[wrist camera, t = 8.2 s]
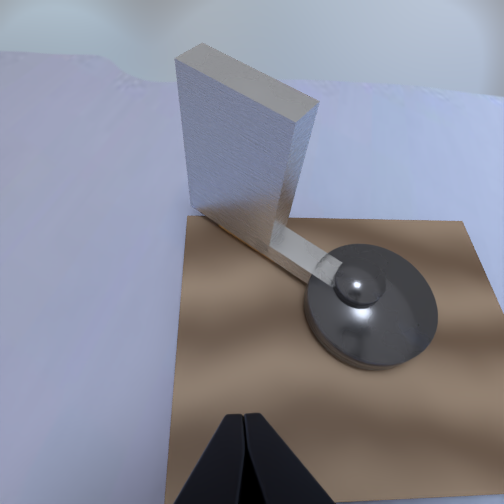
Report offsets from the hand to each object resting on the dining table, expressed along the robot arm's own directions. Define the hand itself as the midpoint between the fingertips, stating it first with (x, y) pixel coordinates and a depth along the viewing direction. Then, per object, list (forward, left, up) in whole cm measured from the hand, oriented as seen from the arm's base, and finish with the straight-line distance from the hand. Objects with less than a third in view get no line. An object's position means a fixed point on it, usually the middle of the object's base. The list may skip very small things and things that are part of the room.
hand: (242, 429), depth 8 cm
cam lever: (+12, +2, -11) cm, 17 cm away
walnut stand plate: (+10, -3, -13) cm, 17 cm away
